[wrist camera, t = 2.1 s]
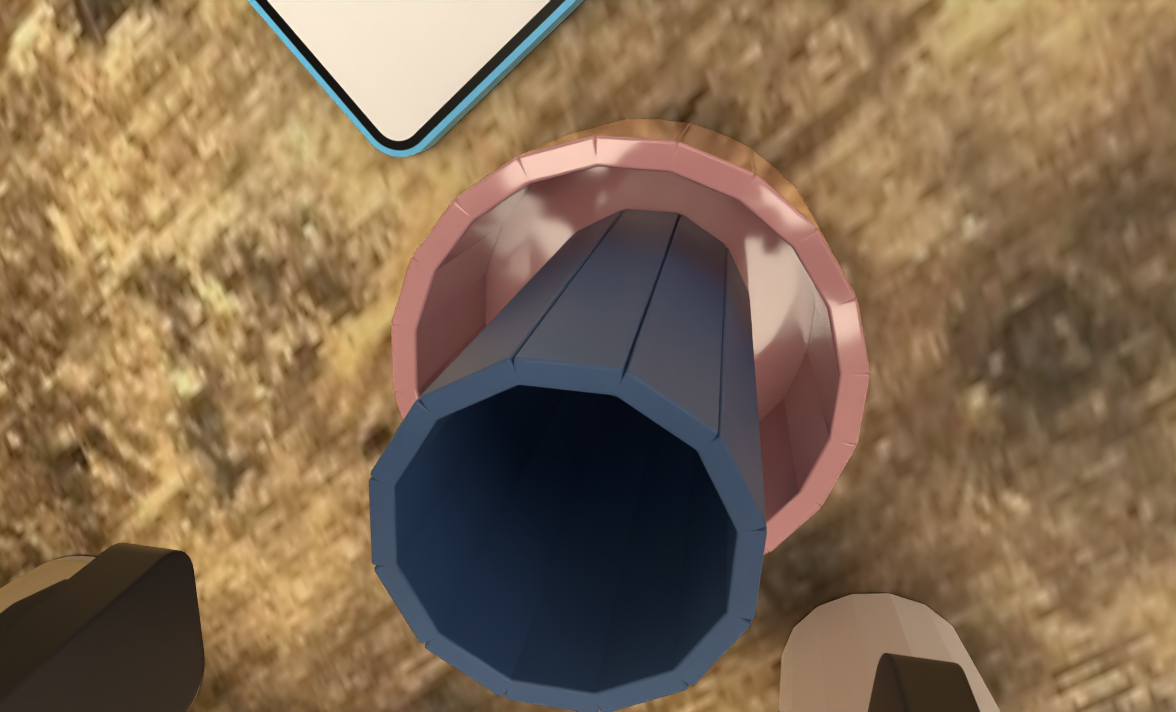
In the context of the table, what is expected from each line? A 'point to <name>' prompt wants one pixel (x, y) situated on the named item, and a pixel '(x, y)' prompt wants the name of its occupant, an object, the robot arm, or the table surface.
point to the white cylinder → (864, 652)
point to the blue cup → (586, 477)
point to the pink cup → (719, 206)
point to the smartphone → (410, 57)
